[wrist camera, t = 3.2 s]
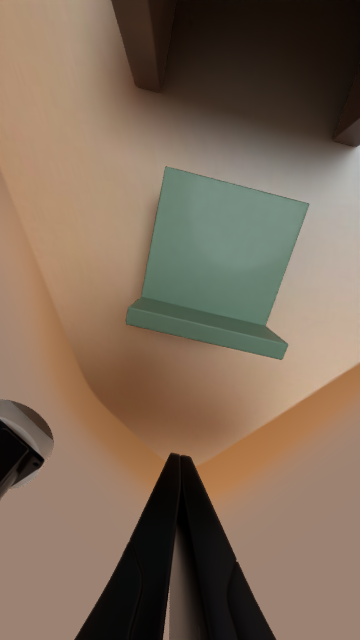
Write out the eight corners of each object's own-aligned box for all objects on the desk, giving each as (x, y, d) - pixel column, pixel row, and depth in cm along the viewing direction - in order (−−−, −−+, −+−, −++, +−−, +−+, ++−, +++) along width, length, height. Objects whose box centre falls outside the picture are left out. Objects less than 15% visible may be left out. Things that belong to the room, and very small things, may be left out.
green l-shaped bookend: (148, 300, 15) (124, 324, 9) (170, 189, 13) (158, 130, 7) (245, 322, 15) (282, 360, 9) (279, 217, 13) (354, 183, 7)
